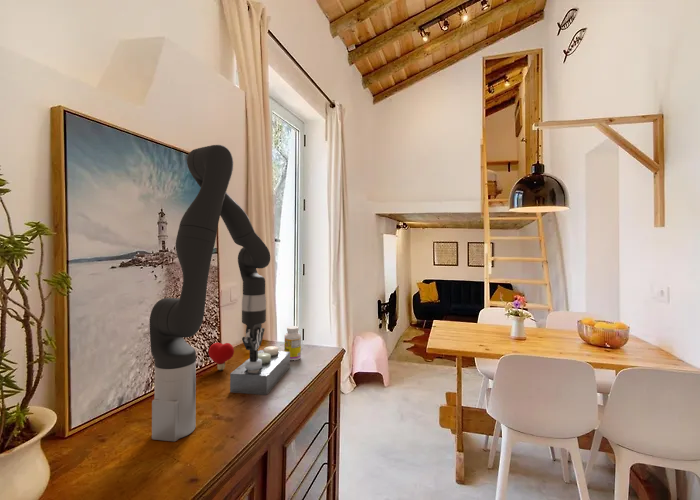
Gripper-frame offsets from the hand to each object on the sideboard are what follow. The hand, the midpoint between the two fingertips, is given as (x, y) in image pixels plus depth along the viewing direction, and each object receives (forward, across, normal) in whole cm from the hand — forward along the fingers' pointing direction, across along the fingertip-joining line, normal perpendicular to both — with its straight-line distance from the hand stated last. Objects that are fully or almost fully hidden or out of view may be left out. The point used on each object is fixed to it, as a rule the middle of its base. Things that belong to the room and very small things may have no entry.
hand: (253, 360), depth 112 cm
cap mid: (+6, +8, 0) cm, 10 cm away
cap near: (+5, 0, 0) cm, 5 cm away
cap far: (+6, +16, 0) cm, 17 cm away
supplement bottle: (+9, +30, -4) cm, 32 cm away
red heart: (+9, +13, +18) cm, 24 cm away
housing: (+9, +8, 0) cm, 12 cm away
